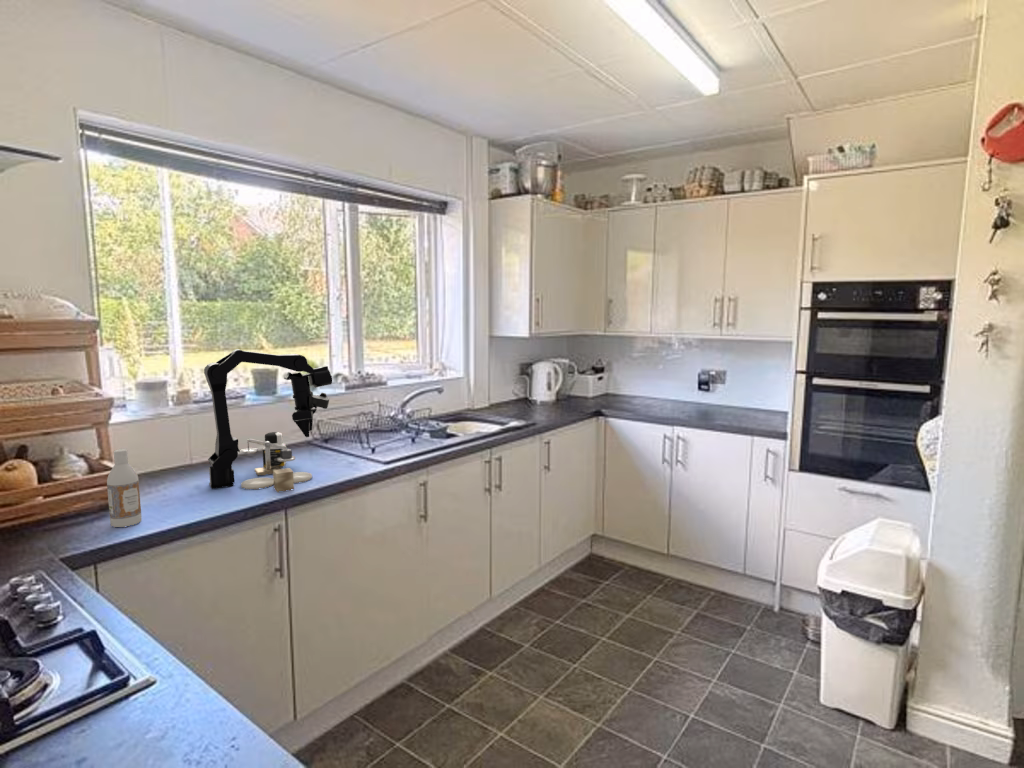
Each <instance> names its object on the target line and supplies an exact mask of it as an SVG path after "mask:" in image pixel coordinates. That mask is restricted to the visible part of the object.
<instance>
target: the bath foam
mask: <svg viewBox="0 0 1024 768" xmlns="http://www.w3.org/2000/svg"><path fill="white" fill-rule="evenodd" d="M113 460H114V465H113V466H112V468H111V469H110V471H109V473H108V476H107V479H106V489H107V500H108V502H107V503H108V511H109V523H110V526H111V527H112V526H114V527H113V528H115V527H124V528H126V527H125V526H130V525H133V526H135V525H134V524H136V525H138V524H140V523H141V522H142V519H143V518H142V509H141V507H142V505H141V493H140V479H139V475H138V473H137V472H136V470H135V469H134V467H133V466H132V465H131V464H130V463H129V456H128V450H127V448H123V449H122V448H119V449H116V450H114V451H113ZM139 522H140V523H139ZM137 523H138V524H137ZM130 527H131V526H130Z"/></svg>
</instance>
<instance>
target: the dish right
mask: <svg viewBox="0 0 1024 768" xmlns="http://www.w3.org/2000/svg"><path fill="white" fill-rule="evenodd" d="M311 478H313V474H312V473H310V472H307V471H296V472H293V480H294V484H300V483H299V482H302V483H305V481H306V482H309V481H310V479H311ZM308 480H309V481H308ZM311 480H312V479H311Z"/></svg>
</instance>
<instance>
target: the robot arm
mask: <svg viewBox="0 0 1024 768" xmlns="http://www.w3.org/2000/svg"><path fill="white" fill-rule="evenodd" d="M241 363H247V364H248V363H249V364H255V365H256V364H257V365H258V364H259V365H266V366H273V367H274V366H275V367H279V368H283V369H288V370H290V371H294V372H295V373H292V372H290V371H288V372H287V373H286V375H285V376H284V377H283V379H284V380H286V381H289V380H290V381H291V382H290V383H291V388H292V399H293V401H294V412H292V414H291V418H292V421H293V422H294V423H295V424H296V426H297V428H299V430H300V431H301V432H302V434H303V436H304V437H305V438H309V437H310V431H312V430H313V425H314V424H313V422H314V414H315V413H316V412H317V409H318V408H322V409H324V410H325V409H326V410H327V409H328V407H329V403H330V397H329V396H327V393H326V392H321V393H320V394H319V395H316V394H314V393H313V390H311V386H313V387H314V388H321V387H325V386H329V385H330V386H331V385H333V376H332V375H331V372H330V370H329V366H327V365H324V366H323V365H322V366H320V367H315V368H313V367H312V366H311V365H310V364H309V363H308V359H307V358H306V357H305V356H304V355H303V354H302V355H301V354H297V353H286V354H272V353H264V352H258V351H257V352H255V351H247V350H241V349H239V348H238V349H237V348H236V349H233V350H232V351H231V352H230V353H228V354H227V355H225V356H224V357H222V358H220V359H218V360H217V361H216V362H209V363H207V365H206V366H205V367H204V370H203V373H204V376H205V379H206V382H207V385H208V387H209V390H210V392H211V400H212V407H213V415H214V422H215V428H216V430H215V431H216V439H215V444H214V445H215V447H214V453H212V455H211V456H209V458H207V461H208V462H209V465H210V466H208V470H209V473H208V474H209V483H208V484H209V487H210V488H211V489H212V490H213V489H219V488H226V487H232V486H235V484H234V483H235V481H236V480H235V470H234V469H233V467H232V465H233V462H235V461H236V459H238V456H239V452H240V450H241V449H240V448H239V439H238V438H237V437H236V436H233V435H232V433H231V432H232V431H231V427H230V426H231V425H230V418H229V417H230V416H229V410H228V401H227V395H226V394H227V393H226V389H227V384H228V383H227V382H228V374H229V373H231V371H234V369H235V368H236V367H237V366H238V365H240V364H241ZM301 372H304V373H305V374H304V373H301Z"/></svg>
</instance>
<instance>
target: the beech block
mask: <svg viewBox="0 0 1024 768" xmlns="http://www.w3.org/2000/svg"><path fill="white" fill-rule="evenodd" d="M293 473H294V471H293V470H292V468H290V467H286V468H282V469H278V470H273V474H272V478H273V481H274V485H273V489H274V488H275V489H274V490H275V491H276V493H280V492H279V491H283V492H287V491H286V490H289V491H292V490H291V489H294V490H295V483H294V480H293Z"/></svg>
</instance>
